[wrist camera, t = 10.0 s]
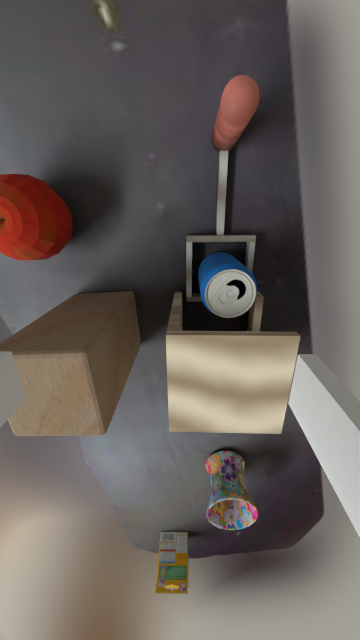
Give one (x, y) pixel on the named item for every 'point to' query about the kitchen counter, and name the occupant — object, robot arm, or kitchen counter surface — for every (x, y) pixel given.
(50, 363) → the wooden block
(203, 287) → the beverage can
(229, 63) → the kitchen counter surface
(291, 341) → the open wooden box
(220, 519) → the mug
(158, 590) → the crayon box
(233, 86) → the square frame pulling tool
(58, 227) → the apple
